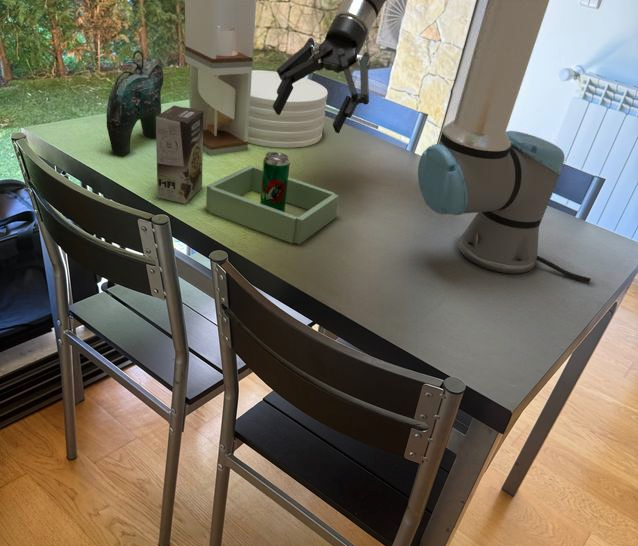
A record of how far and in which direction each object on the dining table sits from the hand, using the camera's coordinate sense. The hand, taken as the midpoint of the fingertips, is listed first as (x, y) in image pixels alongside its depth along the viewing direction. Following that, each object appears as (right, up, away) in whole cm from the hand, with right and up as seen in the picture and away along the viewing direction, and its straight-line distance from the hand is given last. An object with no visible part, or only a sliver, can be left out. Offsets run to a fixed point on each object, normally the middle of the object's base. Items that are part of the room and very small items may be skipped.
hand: (305, 119), depth 119 cm
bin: (-7, -18, +3) cm, 20 cm away
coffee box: (-26, -14, +5) cm, 29 cm away
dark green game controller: (-40, +3, +23) cm, 46 cm away
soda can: (-7, -18, +3) cm, 20 cm away
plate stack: (-10, +14, +44) cm, 48 cm away
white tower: (-23, +5, +30) cm, 38 cm away
